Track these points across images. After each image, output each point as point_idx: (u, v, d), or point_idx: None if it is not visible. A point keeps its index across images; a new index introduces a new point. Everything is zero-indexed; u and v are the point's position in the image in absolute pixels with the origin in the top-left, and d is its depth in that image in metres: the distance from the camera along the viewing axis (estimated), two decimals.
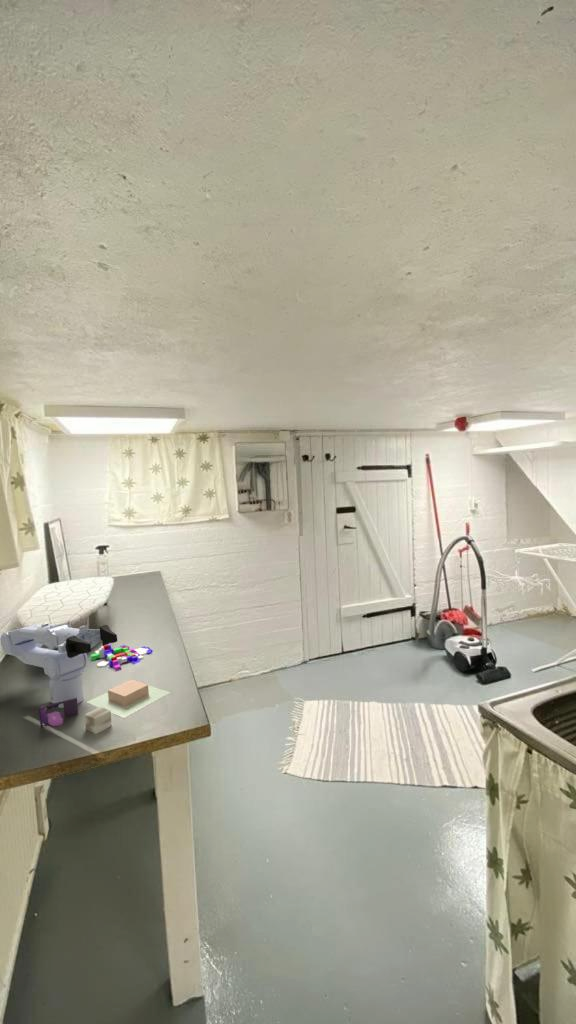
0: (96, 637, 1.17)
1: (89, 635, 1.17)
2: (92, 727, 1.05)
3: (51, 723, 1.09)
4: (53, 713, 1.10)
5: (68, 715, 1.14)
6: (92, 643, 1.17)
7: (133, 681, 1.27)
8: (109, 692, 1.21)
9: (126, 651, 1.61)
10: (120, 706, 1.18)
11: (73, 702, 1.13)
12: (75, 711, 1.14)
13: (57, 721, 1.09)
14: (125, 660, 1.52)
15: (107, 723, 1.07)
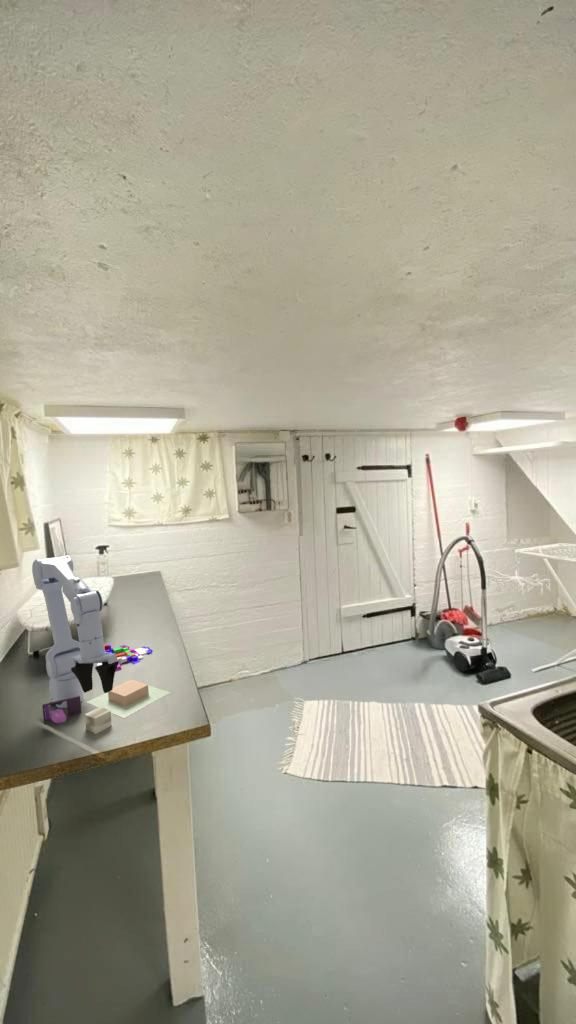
0: None
1: None
2: (92, 727, 1.05)
3: (54, 720, 1.10)
4: (56, 710, 1.11)
5: (71, 713, 1.15)
6: None
7: (133, 681, 1.27)
8: (109, 692, 1.21)
9: (126, 651, 1.61)
10: (120, 706, 1.18)
11: (77, 700, 1.14)
12: (78, 708, 1.15)
13: (60, 718, 1.10)
14: (125, 660, 1.52)
15: (107, 723, 1.07)
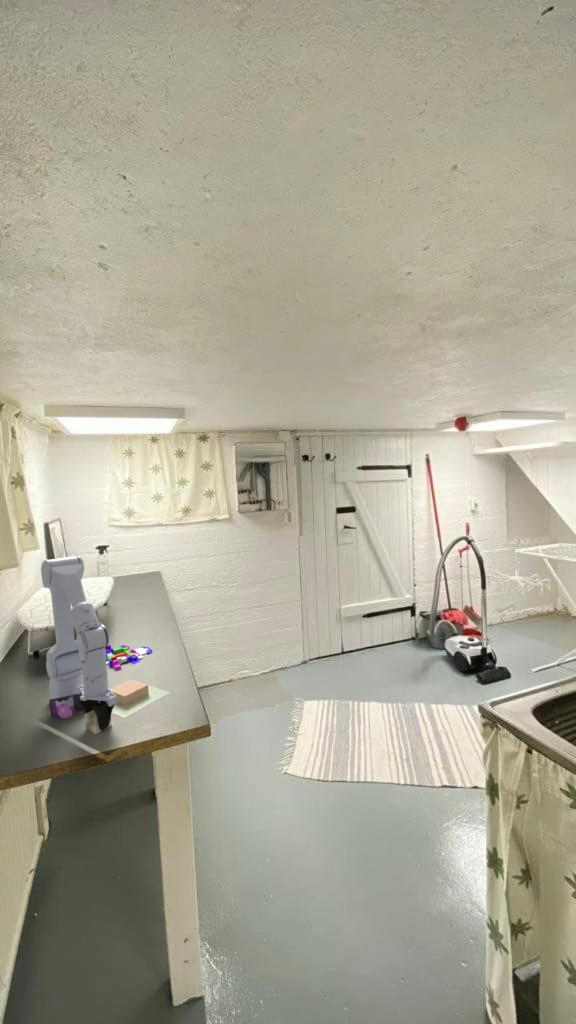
0: None
1: None
2: (92, 727, 1.05)
3: (60, 715, 1.12)
4: (63, 706, 1.13)
5: (78, 708, 1.17)
6: None
7: (133, 681, 1.27)
8: None
9: (126, 651, 1.61)
10: (120, 706, 1.18)
11: None
12: None
13: (66, 714, 1.12)
14: (125, 660, 1.52)
15: None
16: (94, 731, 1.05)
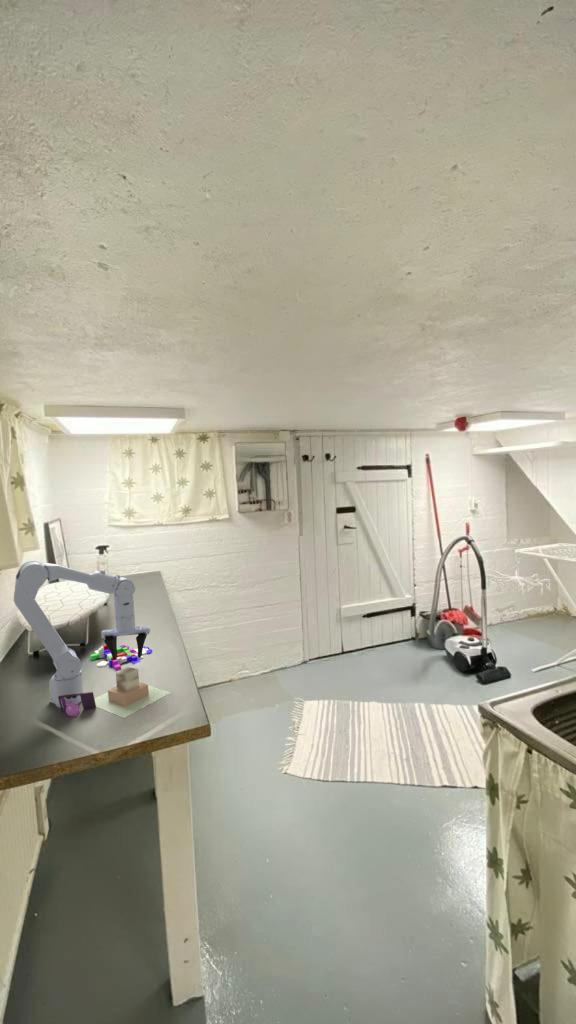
0: None
1: None
2: (123, 683, 1.21)
3: (67, 713, 1.14)
4: (70, 703, 1.15)
5: (86, 707, 1.17)
6: None
7: None
8: (109, 692, 1.21)
9: (126, 651, 1.61)
10: (120, 706, 1.18)
11: (90, 696, 1.16)
12: (92, 704, 1.17)
13: (71, 712, 1.13)
14: (125, 660, 1.52)
15: (136, 679, 1.23)
16: (125, 686, 1.20)
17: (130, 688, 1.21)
